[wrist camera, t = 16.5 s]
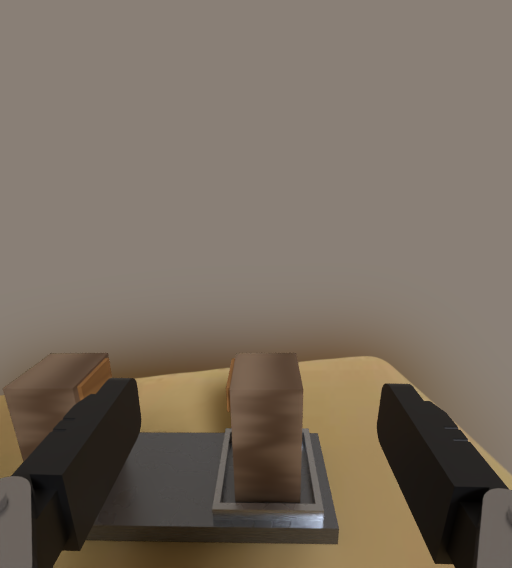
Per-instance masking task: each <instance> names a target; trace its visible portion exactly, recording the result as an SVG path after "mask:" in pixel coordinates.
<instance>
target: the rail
mask: <svg viewBox="0 0 512 568" xmlns="http://www.w3.org/2000/svg"><path fill="white" fill-rule="evenodd" d="M338 533H339V527H338V523H337V518H336V514H335V509H334V505H333V500H332V496H331V491H330V487H329V482H328V478H327V473H326V469H325V464H324V460H323V455H322V451H321V446H320V442H319V437H318V433H309V429H302V456H301V494H300V502H235V487H234V468H233V448H232V428H226V430H225V433H139V435H138V438H137V440H136V442H135V444H134V446H133V448H132V450H131V452H130V454H129V456H128V458H127V460H126V462H125V464H124V466H123V468H122V470H121V472H120V473H119V475H118V477H117V479H116V481H115V483H114V485H113V487H112V489H111V491H110V493H109V495H108V497H107V499H106V501H105V503H104V505H103V507H102V509H101V511H100V513H99V515H98V516H97V518H96V520H95V522H94V524H93V526H92V528H91V530H90V532H89V534H88V536H87V538H86V540H113V541H175V542H238V543H300V544H338Z"/></svg>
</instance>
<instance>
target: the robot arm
mask: <svg viewBox="0 0 512 568" xmlns="http://www.w3.org/2000/svg"><path fill="white" fill-rule="evenodd" d="M140 427H141V412H140V405H139V397H138V389H137V383H136V380H135V379H133V378H109V379H108V380H107V381H106V382H105V383H104V385H103V386H102V387H101V388H100V389H99V391H98V392H97V393H96V394H90V395H88V396H87V397H85V398H84V399H82V400H81V401H79V402H78V403H76V404H75V405H74V406H73V407H72V408H71V409H70V410H69V411H68V413H67V414H66V415H65V416H64V417H63V420H60V422H59V423H58V424H57V425H56V426H55V427H54V428H53V431H52V432H50V433H49V434H48V435H47V436H46V437H45V438H44V440H43V441H42V442H41V443H40V444H39V445H38V446H37V447H36V449H35V450H34V451H33V452H32V453H31V454H30V455H29V456H28V458H27V459H26V460H25V461H24V462H23V463H22V464H21V465H20V467H19V468H18V469H17V470H16V471H15V472H14V473H13V475H12V476H10V477H5V478H1V479H0V568H53V565H54V564H55V562H56V560H57V558H58V556H59V555H60V553H61V551H62V550H66V551H80V550H81V548H82V546H83V544H84V542H85V540H86V538H87V536H88V534H89V532H90V530H91V528H92V526H93V524H94V522H95V520H96V518H97V516H98V515H99V513H100V511H101V509H102V507H103V505H104V503H105V501H106V499H107V497H108V495H109V493H110V491H111V489H112V487H113V485H114V483H115V481H116V479H117V477H118V475H119V473H120V472H121V470H122V468H123V466H124V464H125V462H126V460H127V458H128V456H129V454H130V452H131V450H132V448H133V446H134V444H135V442H136V440H137V438H138V435H139V432H140ZM377 433H378V439H379V442H380V445H381V447H382V450H383V452H384V454H385V456H386V458H387V460H388V463H389V465H390V467H391V469H392V471H393V473H394V476H395V478H396V480H397V482H398V484H399V487H400V489H401V491H402V493H403V495H404V497H405V500H406V502H407V504H408V506H409V508H410V510H411V513H412V515H413V517H414V519H415V521H416V524H417V526H418V528H419V530H420V532H421V534H422V537H423V539H424V541H425V543H426V545H427V547H428V550H429V552H430V554H431V556H432V558H433V561H434V563H435V564H454V566H455V568H512V490H509V489H508V487H507V486H506V485H505V484H504V483H503V481H502V480H501V479H500V478H499V476H498V475H497V474H496V473H495V472H494V470H493V469H492V468H491V467H490V466H489V464H488V463H487V462H486V461H485V459H484V458H483V457H482V456H481V455H480V453H479V452H478V451H477V450H476V448H475V447H474V446H473V445H472V444H471V442H468V439H467V438H466V436H465V435H464V434H463V433H462V431H461V430H458V427H457V425H456V424H455V423H454V422H453V421H452V419H451V418H450V417H449V416H448V414H447V413H446V412H444V411H443V410H441V409H440V408H439V407H437V406H436V405H435V404H433V403H432V402H430V401H423V399H422V398H421V397H420V395H419V394H418V393H417V391H416V390H415V389H414V387H413V386H412V385H410V384H384V385H383V387H382V392H381V399H380V406H379V413H378V420H377Z"/></svg>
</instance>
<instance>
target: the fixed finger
mask: <svg viewBox="0 0 512 568" xmlns="http://www.w3.org/2000/svg"><path fill="white" fill-rule="evenodd" d="M109 378H112V374H111V368H110V362H109V357H108V353H50V354H49V355H48V356H47V357H45V358H44V359H42V360H41V361H40V362H38V363H37V364H35V365H34V366H33V367H31V368H30V369H29V370H27V371H26V372H25V373H23V374H22V375H20V376H19V377H18V378H16V379H15V380H14V381H12V382H11V383H10V384H8V385H7V386H5V387H4V388H3V391H4V395H5V398H6V402H7V405H8V409H9V412H10V416H11V419H12V423H13V426H14V430H15V433H16V437H17V440H18V444H19V447H20V451H21V454H22V458H23V461H25V460H26V459H27V458H28V456H29V455H30V454H31V453H32V452H33V451H34V450H35V449H36V447H37V446H38V445H39V444H40V443H41V442H42V441H43V440H44V438H45V437H46V436H47V435H48V434H49V433H50V432H52V431H53V428H54V427H55V426H56V425H57V424H58V423H59V422H60V420H63V417H64V416H65V415H66V414H67V413H68V411H69V410H70V409H71V408H72V407H73V406H74V405H75V404H76V403H78V402H79V401H81V400H82V399H84V398H85V397H87V396H88V395H90V394H96V393H97V392H98V391H99V389H100V388H101V387H102V386H103V385H104V383H105V382H106V381H107V380H108V379H109Z"/></svg>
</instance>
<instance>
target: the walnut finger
mask: <svg viewBox="0 0 512 568" xmlns="http://www.w3.org/2000/svg"><path fill="white" fill-rule="evenodd" d="M226 393H227V412H231V428H232V448H233V468H234V487H235V502H300V494H301V456H302V418H303V386H302V381H301V376H300V371H299V366H298V361H297V356H296V353H236V357H235V359H232V361H231V366H230V371H229V376H228V381H227V386H226Z"/></svg>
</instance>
